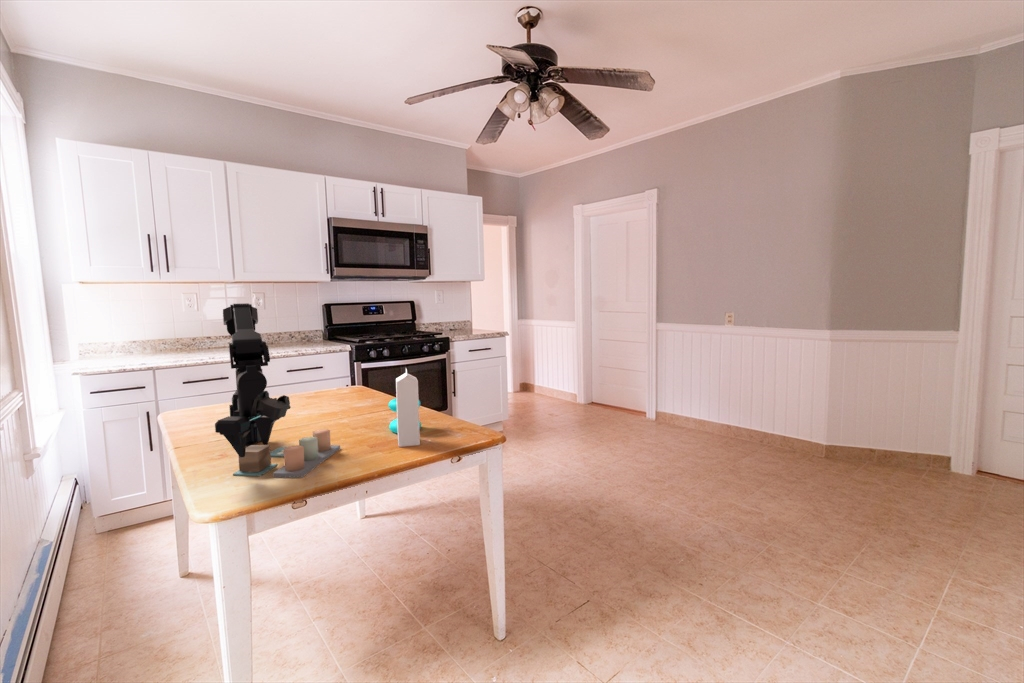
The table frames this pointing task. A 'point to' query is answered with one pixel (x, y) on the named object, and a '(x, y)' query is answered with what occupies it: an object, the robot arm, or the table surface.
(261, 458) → the brown cube
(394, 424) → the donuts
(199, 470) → the table surface
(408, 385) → the milk
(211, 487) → the table surface
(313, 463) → the board
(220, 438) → the table surface
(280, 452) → the pad three
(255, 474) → the pad two
